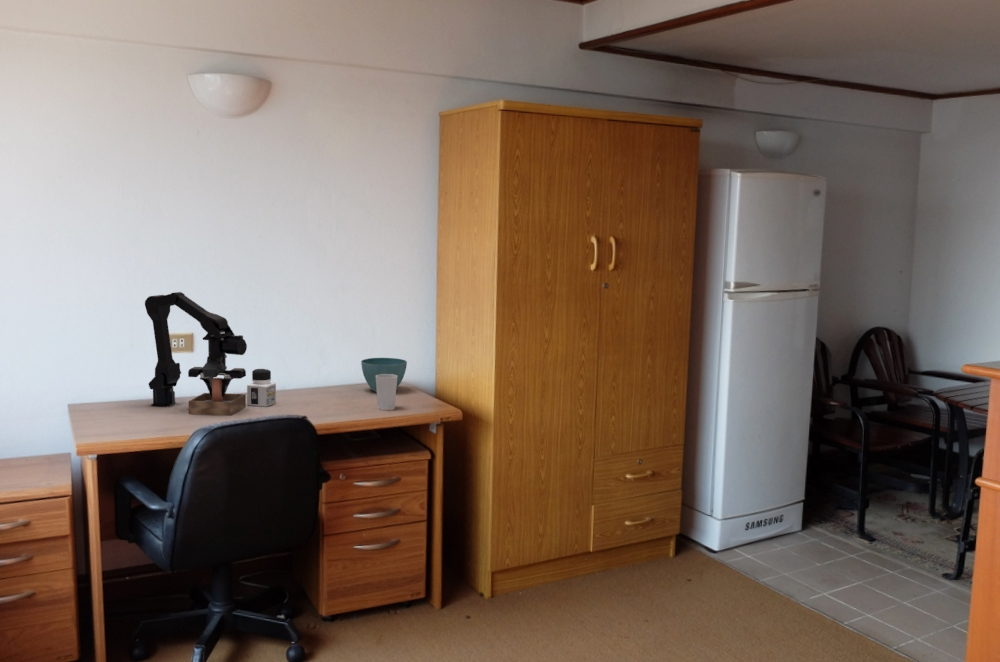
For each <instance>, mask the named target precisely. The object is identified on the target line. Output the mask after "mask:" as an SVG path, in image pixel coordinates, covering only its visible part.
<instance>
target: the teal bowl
mask: <svg viewBox="0 0 1000 662" xmlns="http://www.w3.org/2000/svg"><path fill="white" fill-rule="evenodd" d="M407 364H408V361H407V360H405V359H402V358H396V357H373V358H372V357H370V358H365V359H362V360H361V362H360V365H361V370H362V374H363V377H364V379H365V382H366V383H367V385H368V386H369V388H370V389H371V390H372V391H373V392H375V393H377V389H376V375H380V374H393V375H397V376H398V377H397V387H396V389H397V388H398V387H399V385H400V384H401V383H402V381H403V379H404V377H405V373H406V371H407V366H408V365H407Z"/></svg>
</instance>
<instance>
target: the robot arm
mask: <svg viewBox="0 0 1000 662" xmlns="http://www.w3.org/2000/svg"><path fill="white" fill-rule="evenodd" d="M144 306H145V310H146V313H147V315H148V316H149V318H150V320H151V321H152V325H153V334H154V340H155V348H156V355H157V362H156V365H155V367H154V377H153V378H152V379H151V380H150V381H149V383H148V387H149V389H150V390H152V403H151V405H150V406H153V407H170V406H172V405H174V404H176V392H175V391H174V387H176V386H177V383H178V381H179V380H180V378H181V374H182V371H181V365H180V362H175V360H174V358H173V353H172V352H173V351H172V346H171V336H170V329H169V323H168V319H169V316H170V312H171V306H172V307H173V306H176V307H178V309H180V310H182V311H183V312H185V313H186V314H187V315H189V316H190V317H192V318H193V319H195V320H196V321H197V322H198V323H199V324H200V327H201V328H202V329H203V331H205V332H206V335H205V336H204V337H202V340H203V341H208V342H207V345H208V352H207V353H208V356H207V357H206V358H207V359H206V362H205V364H204V365H203V366H194V367H192V368H190V369H188V372H187V373H188V377H189V378H198V376H200V377H199V380H202V381H203V382H204V384H205V386H206V387H207V390H208V393H210V395H211V397H212V378H218V376H223V379H222V397H224V395H225V393H226V394H227V391H228V388H229V385H230V383H231V381H232V380H233V379H236V380H237V379H243V378H244V377H246V376H247V371H246V369H245V368H244V367H241V368H239V367H234V368H232V369H230V370H229V369H228V367H227V366H226V365H227V364H226V363H227V362H226V361H227V360H226V359H227V355H236V356H243V355H245V353H246V351H247V348H248V345H247V343H246V339H244V336H243V335H235V333H234V332H233V329H232V328H231V327H230V325H229V323H228V322H229V321H228V320H227V318H225V317H223V316H221V315H220V314H216V313H213V312H209V311H208V310H207V309H205V308H203V306H201V305H200V304H198V303H196V302H195V301H194V300H192V299H191V298H189V297H187V296H186V295H185V293H183V292H182V291H178V292H177V291H176V292H171V293H169V294H158V295H150V296H148V297H147V298H146V299H145V300H144Z"/></svg>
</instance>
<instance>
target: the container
mask: <svg viewBox="0 0 1000 662" xmlns="http://www.w3.org/2000/svg"><path fill="white" fill-rule="evenodd" d="M251 372H252V373H251V378H252V379H251V381H252V383H249V384H247V385H246V391H247V392H246V393H247V394H246V399H247V400H246V402H247V403H246V406H249V407H250V406H252V407H253V406H254V407H265V408H267V407H268V406H269V407H270V406H271V405H274V404H275V403H276V402H277V395H276V394H277V383H276V382H273V381H272V377H271V376H272V374H271V373H272V371H271V370H270V369H268V368H255V369H254V370H252V371H251Z"/></svg>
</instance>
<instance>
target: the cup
mask: <svg viewBox="0 0 1000 662" xmlns="http://www.w3.org/2000/svg"><path fill="white" fill-rule="evenodd" d="M397 377H398V376H397V375H393V374H380V375H376V389H377V392H376V399H377V409H378V410H380V409H381V411H392V410H395V409H396V396H397V388H398V387H397ZM396 387H397V388H396Z"/></svg>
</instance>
